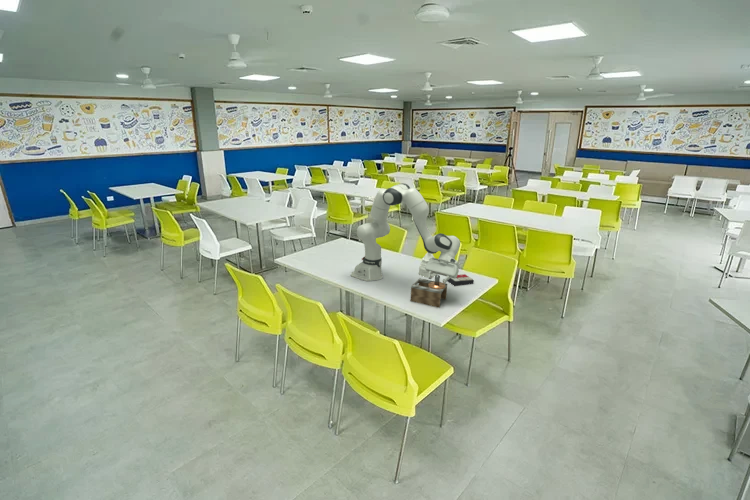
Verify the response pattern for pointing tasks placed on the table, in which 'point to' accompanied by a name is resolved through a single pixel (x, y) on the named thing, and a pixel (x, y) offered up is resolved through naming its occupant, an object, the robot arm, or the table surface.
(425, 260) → the white ridged cone
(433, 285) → the spinning top
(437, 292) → the wood and metal frame
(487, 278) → the table surface
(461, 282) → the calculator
